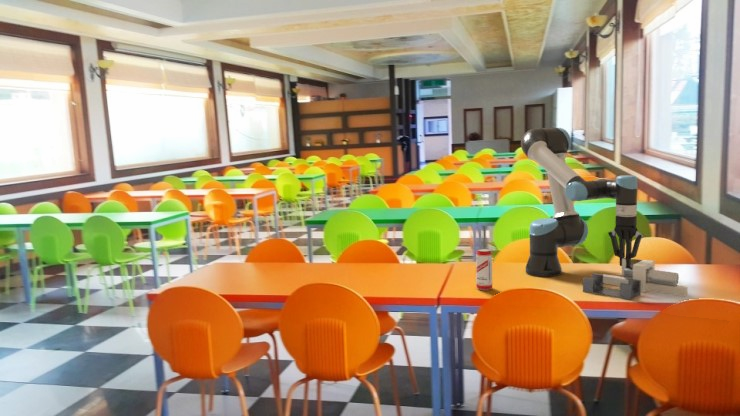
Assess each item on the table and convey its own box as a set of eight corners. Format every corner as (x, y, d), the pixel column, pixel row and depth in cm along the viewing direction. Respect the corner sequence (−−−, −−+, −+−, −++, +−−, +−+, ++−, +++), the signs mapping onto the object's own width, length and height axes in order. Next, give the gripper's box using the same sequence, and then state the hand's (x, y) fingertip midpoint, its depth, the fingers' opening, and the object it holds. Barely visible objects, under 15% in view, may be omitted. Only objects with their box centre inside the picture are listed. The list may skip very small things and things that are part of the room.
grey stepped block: (596, 285, 224) (596, 260, 223) (607, 279, 232) (608, 255, 230) (681, 299, 202) (682, 271, 201) (690, 292, 210) (691, 265, 208)
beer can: (481, 285, 229) (480, 247, 227) (495, 288, 225) (494, 249, 223) (473, 289, 225) (473, 250, 223) (487, 291, 221) (487, 252, 219)
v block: (582, 291, 216) (582, 277, 215) (593, 286, 222) (593, 273, 221) (630, 300, 203) (631, 285, 202) (640, 294, 209) (640, 280, 209)
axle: (624, 280, 219) (623, 268, 218) (629, 276, 222) (628, 264, 222) (674, 288, 206) (674, 275, 205) (678, 284, 210) (678, 271, 209)
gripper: (605, 215, 220) (604, 273, 223) (639, 217, 211) (638, 279, 214) (613, 213, 225) (612, 270, 228) (647, 215, 216) (645, 275, 219)
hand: (624, 274), depth 221 cm, fingers closed
